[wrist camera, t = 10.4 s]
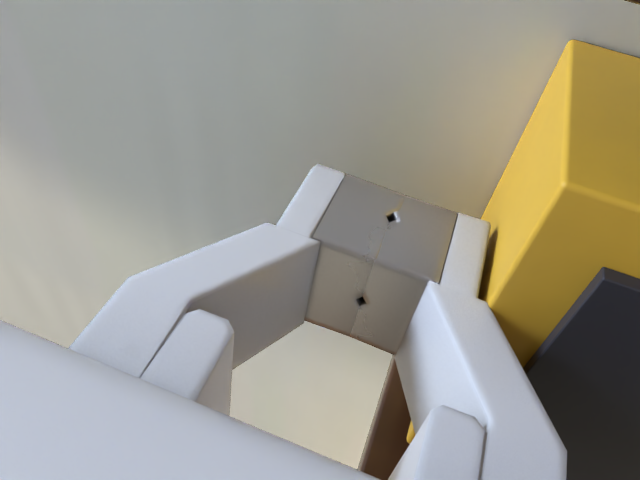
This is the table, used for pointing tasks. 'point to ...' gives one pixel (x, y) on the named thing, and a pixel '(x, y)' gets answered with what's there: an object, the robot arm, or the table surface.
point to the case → (390, 424)
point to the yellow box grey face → (575, 259)
